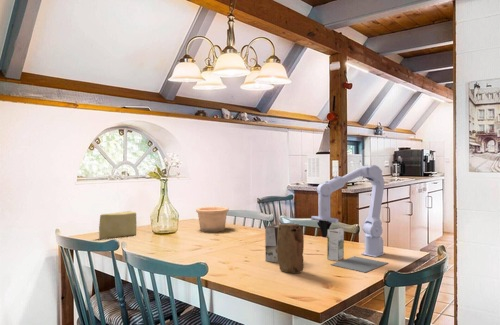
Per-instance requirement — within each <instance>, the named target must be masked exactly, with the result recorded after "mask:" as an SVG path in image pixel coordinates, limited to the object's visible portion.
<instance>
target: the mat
mask: <svg viewBox="0 0 500 325" xmlns="http://www.w3.org/2000/svg"><path fill="white" fill-rule="evenodd" d="M388 264H389V263H388V262H386V261H385V262H384V261H380V260H375V259H371V258H364V257H359V256H351V257H349V258H345V259H342V260H340V261H336V262H333V263H332V264H331V263H330V266H332V267H333V266H334V267H338V268H341V269H347V270H352V271H356V272H360V273H364V274H366V273H369V272H370V271H373V270H375V269H378V268H381V267H383V266H385V265H388Z"/></svg>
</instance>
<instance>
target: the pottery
mask: <svg viewBox="0 0 500 325" xmlns="http://www.w3.org/2000/svg"><path fill="white" fill-rule="evenodd" d="M195 212H196V213H197V216H198V223H199V230H200V231H201V232H204V233H217V232H218V231H220V232H223V231H225V230H226V222H227V221H226V220H227V213H228V212H229V208H228V207H225V206H224V207H223V206H204V207H197V208H196V209H195Z"/></svg>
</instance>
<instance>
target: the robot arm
mask: <svg viewBox="0 0 500 325" xmlns="http://www.w3.org/2000/svg"><path fill="white" fill-rule="evenodd" d="M359 177H363V178H365V179H366V180H368V181H369V182H370V183H371V185H372V187H371V193H370V194H371V195H370V202H369V208H368V214H367V217H366V218H365V220H364V222H363V225H362V231H363V233H364V252H361V255H363V256H368V257H369V256H370V257H374V258H376V257H381V256H382V255H385V254H386V253H385V252H384V240H383V237H382V236H381V235H382V234H383V227H382V224H383V223H382V220H381V218H380V217H381V211H382V203H383V197H384V196H383V195H384V189H385V180H384V175H383V170H382V169H381V168H380V167H379V166H378V165H374V164H373V165H368V164H364V165H363V166H359V167H358V168H355V169H354V170H352V171H350V172H348V173H347V174H344V175H343V176H340V175H339V176H338V175H334V176H333V178H331V179H330V180H325V182H324V183H319V184H318V186H317V187H316V193H317V194H318V196H317V197H318V200H317V202H318V207H317V208H318V215H311V216H310V217H311V218H310V220H311V221H317V225H318V228H319V230H320V233H321V237H322V238H328V229H331V228H330V227H331V226H332V223H333V224H339V218H335V217H331V195H332V193H334V192H336V191H337V190H340V189H341V188H344V187H345V186H346V183H348V182H351V181H352V180H355V179H357V178H359Z"/></svg>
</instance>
